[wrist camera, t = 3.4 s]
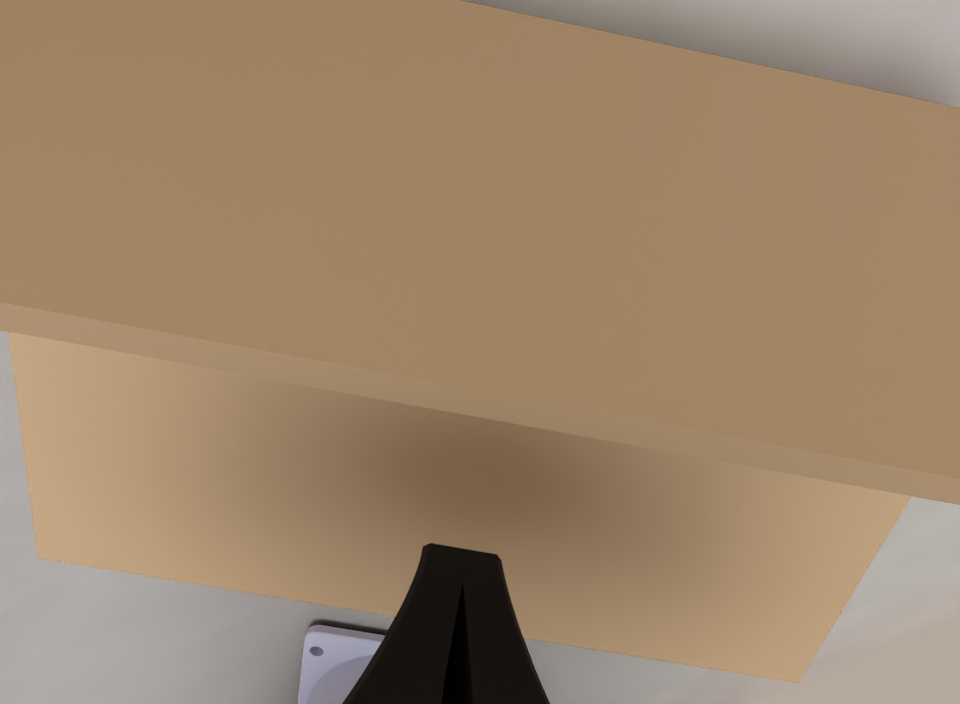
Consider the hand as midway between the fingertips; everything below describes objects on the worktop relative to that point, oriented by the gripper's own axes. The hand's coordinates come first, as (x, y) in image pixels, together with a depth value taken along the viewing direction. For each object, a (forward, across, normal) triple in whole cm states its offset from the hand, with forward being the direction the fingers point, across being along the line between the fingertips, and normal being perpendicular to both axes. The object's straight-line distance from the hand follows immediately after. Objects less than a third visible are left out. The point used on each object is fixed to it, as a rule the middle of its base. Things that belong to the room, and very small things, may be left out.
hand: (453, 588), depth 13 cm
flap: (+1, 0, -7) cm, 7 cm away
